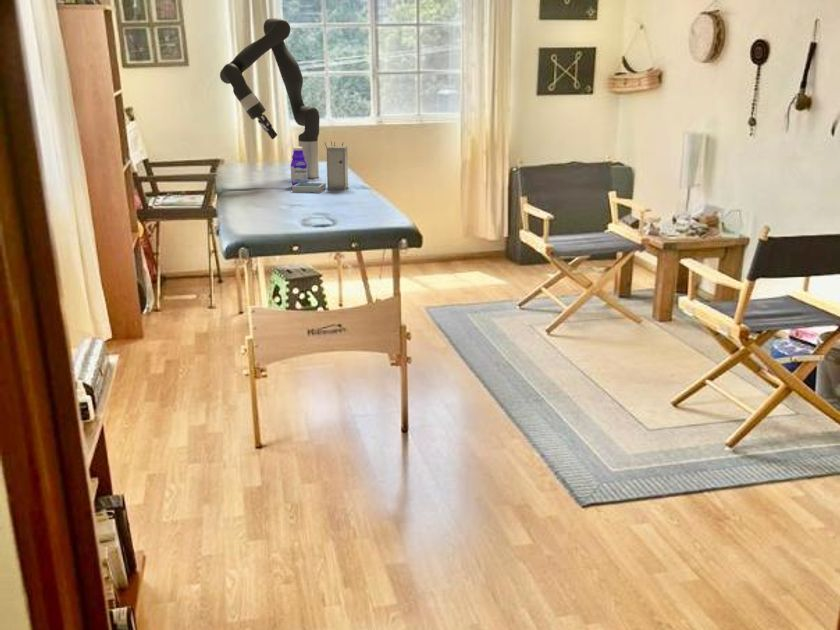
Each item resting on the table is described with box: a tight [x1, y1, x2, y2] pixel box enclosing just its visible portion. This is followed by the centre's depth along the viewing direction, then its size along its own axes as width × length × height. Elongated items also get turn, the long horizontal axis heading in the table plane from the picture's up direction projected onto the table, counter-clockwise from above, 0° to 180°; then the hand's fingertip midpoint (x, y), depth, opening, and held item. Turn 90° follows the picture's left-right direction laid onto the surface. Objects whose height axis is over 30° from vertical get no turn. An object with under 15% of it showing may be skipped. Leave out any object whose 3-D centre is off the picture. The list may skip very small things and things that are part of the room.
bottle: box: [290, 146, 309, 187], centre depth 359 cm, size 7×6×17 cm
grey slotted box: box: [326, 145, 349, 190], centre depth 355 cm, size 7×8×18 cm
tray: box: [291, 182, 327, 193], centre depth 351 cm, size 12×12×2 cm
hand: (274, 137), depth 358 cm, fingers open, 8 cm apart
